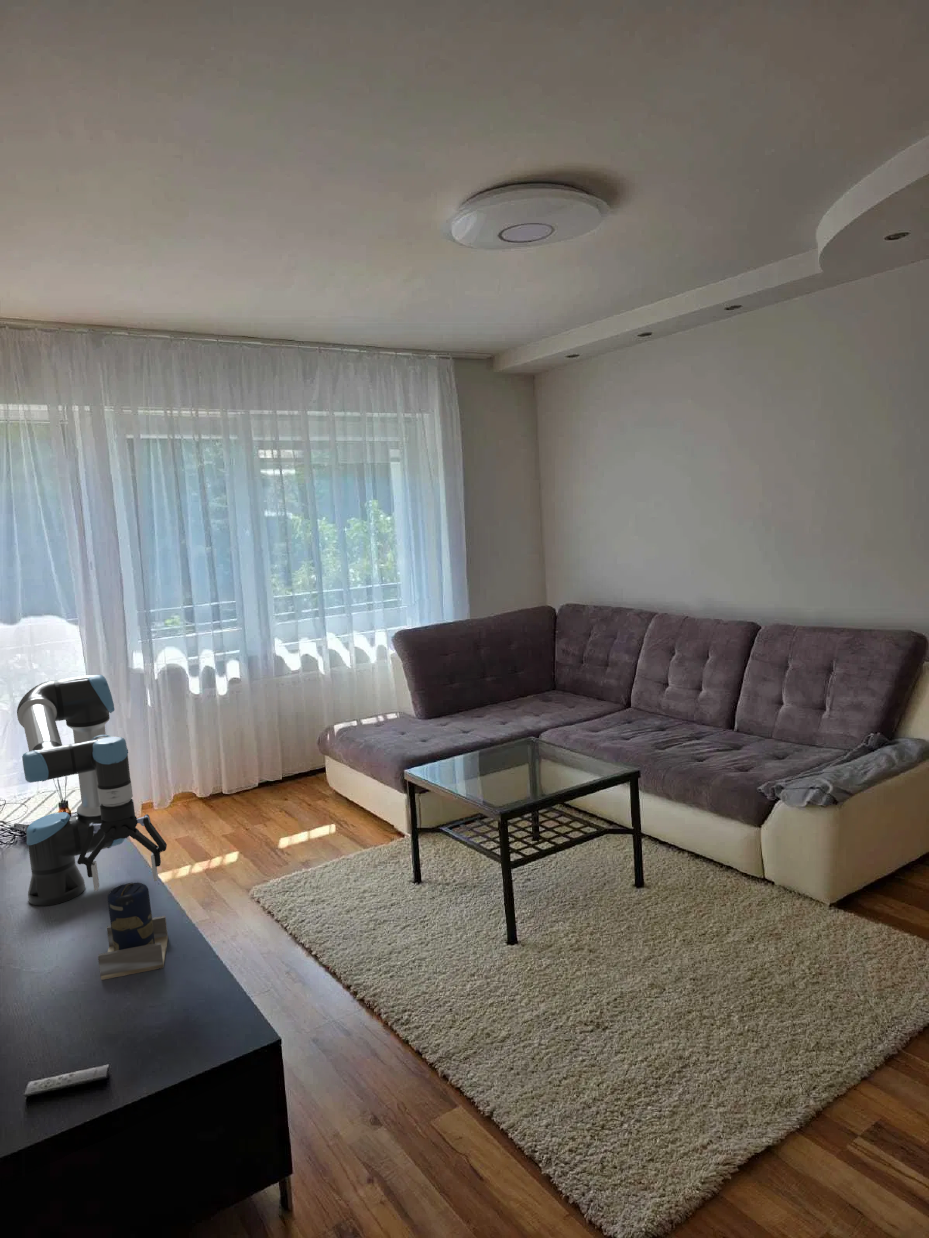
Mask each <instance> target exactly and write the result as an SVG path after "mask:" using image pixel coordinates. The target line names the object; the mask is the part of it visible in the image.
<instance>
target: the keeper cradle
mask: <svg viewBox="0 0 929 1238" xmlns="http://www.w3.org/2000/svg"><path fill="white" fill-rule="evenodd" d="M152 921H153V931H154V940H155V944H149V945H144V946H139V947H133V948H128V949H123V950H117V951H114V947H113V940H112V932H111V924H110V925H107V927H106V930H107V931H106V934H107V939H108V940H107V941H108V949H107V952H103V953H98V956H97V960H98V967H99V973H100V974H99V975H100V980H101V981H103V980H108V979H113V978H117V977H119V978H120V977H124V976H130V975H134V974H140V973H144V972H149V971H150V972H151V971H155V970H159V968H160V969H163V968H164V965H165V959H166V954H167V953H166V952H167V946H168V940H169V935H168V926H167V917H166V915H161V916H156V917H152Z"/></svg>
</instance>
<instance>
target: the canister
mask: <svg viewBox="0 0 929 1238" xmlns="http://www.w3.org/2000/svg"><path fill="white" fill-rule="evenodd" d="M107 905H108V906H107V907H108V914H109V921H110V925H111V932H112V940H113V947H114V951H117V950H123V949H128V948H133V947H139V946H144V945H149V944H155V940H154V931H153V921H152V918H153V915H152V907H151V901H150V892H149V888H148V885H147V884H145V883H142V882H129V883H124V884H120V885H118V886H116V887H114V888H113V889H112V890H110V891H109V893H108V895H107Z"/></svg>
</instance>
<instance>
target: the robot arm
mask: <svg viewBox="0 0 929 1238" xmlns="http://www.w3.org/2000/svg"><path fill="white" fill-rule="evenodd" d="M113 699H114V698H113V696H112V692H111V690H110V686H109V684H108V681H107V679H106V677H105V676H104V675H102V674H91V675H89V674H86V675H82V676H81V675H80V676H75V677H69V678H62V679H61V678H60V679H57V680H48V681H45V682H41V683H39V684H37V685H35V686H34V687H32V688H31V689H30V690H29V691H27V692H26V693H25V694H24V695H23V696H22V698H21V699H20V700H19V703H18V705H17V710H16V717H17V720H18V723H19V724H20V725H21V726H22V728H23V729H24V733H25V738H26V743H27V748H28V751H27V752H26V751H25V753H23V754H22V756H21V758H22V768H23V772H24V773H23V774H24V777H25V778H24V779H25V781H26V782H27V783H37V782H47V781H49V780H53V779H59V778H63V777H68V776H73V775H77V776H78V783H79V792H80V800H81V803H80V804H79V805H78V807H77V808H76V815H71V816H70V814H69V813H68V812H66V811H61V812H54V813H51V814H50V813H48V814H47V815H45V816H41V817H39V818H38V819H36V820H34V821H33V822H31V823H30V824H29V825H28V826H27V828H26V845H27V847H28V855H29V862H30V871H31V877H30V881H29V886H28V891H27V898H28V899H27V900H28V903H29V904H31V905H32V906H39V907H42V906H43V907H45V906H53V905H57V904H61V903H64V902H68V901H70V900H72V899H75V898H76V897H78V896H80V895H81V894H82V893H83V892H84V891H85V889H86V884H85V878H84V877H83V876H82V873H81V872H80V870H79V868H78V866H77V865H85V867H86V873H87V877H88V878H92V884H93V891H94V892H96V891H98V890H99V888H100V881H99V873H98V866H97V865H98V864H97V860H95V859H96V858H97V857H98V856H99V853H100V852H101V851H102V850H106V849H111V848H112V847H116V846H119V845H121V844H123V842H125V839H128V838H129V837H130V838H132V839H133V840H135V841H137V842H138V843H139V844H141V845H142V846H143V847H145V849H147V850H148V851H149V852H151V854H150V862H151V870H152V879H153V882H158V876H159V873H158V867H160V866H161V862H162V859H161V853H162V852H166V850H167V847H168V846H167V845H168V844H167V843H166V841H165V839H164V838H163V837H162V836H161V834H160V833H159V831H158V830H157V829H156V827H154V825H153V824H152V822H151V818H150V815H149V814H145V815H144V816H141V817H137V816H136V812H135V810H136V809H135V803H134V799H133V797H134V794H133V786H132V780H131V774H130V763H129V750H128V747H127V741H126V739H125V738H124V737H121V736H111V735H107V734H106V726H105V725H106V724H107V723H108V721H109V720H110V719H111V718H110V714H112V713H113V712H114V711H115V704H114V703H115V702H114V701H113ZM60 721H61V722H62V721H65V724H66V726H67V727H68V728H70V729H71V730H72V733H73V741H74V743H70V744H64V745H63V742H62V739H61V736H60V732H59V729H58V726H57V722H60ZM138 824H140V825H141V826H142V827H144V828H145V830H146V831H147V833H148V834H149V836H150V837H151V839H152V840H153V841H154V842H155V843H154V842H153V841H152V840H150V839H149V838H148V837H147V836H146V835H144V834H143V833H142V832H141V831H140V830H139V829H138V828H137V826H138ZM88 853H90V855H88V856H87V857H86V855H87V854H88ZM76 856H79V857H78V858H77V861H76V859H75V857H76ZM76 862H77V864H76Z"/></svg>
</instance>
